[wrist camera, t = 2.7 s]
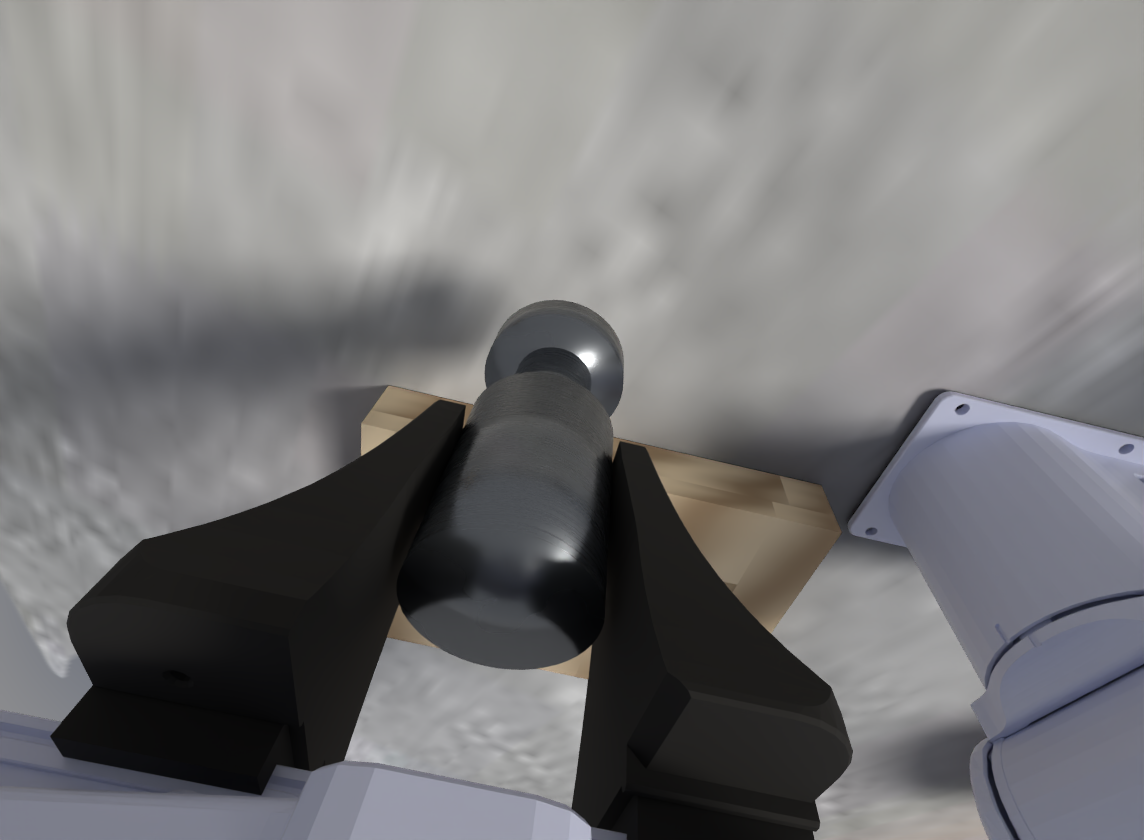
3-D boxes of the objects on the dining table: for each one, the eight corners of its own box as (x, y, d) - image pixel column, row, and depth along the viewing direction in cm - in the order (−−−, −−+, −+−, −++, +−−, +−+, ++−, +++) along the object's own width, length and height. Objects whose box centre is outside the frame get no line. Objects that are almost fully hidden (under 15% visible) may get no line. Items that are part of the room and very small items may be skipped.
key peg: (639, 318, 16) (645, 555, 8) (605, 428, 18) (587, 692, 11) (503, 285, 16) (387, 497, 8) (485, 400, 18) (381, 650, 11)
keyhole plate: (821, 485, 25) (842, 532, 23) (712, 657, 33) (719, 706, 31) (388, 385, 24) (361, 423, 22) (381, 586, 32) (361, 631, 30)
